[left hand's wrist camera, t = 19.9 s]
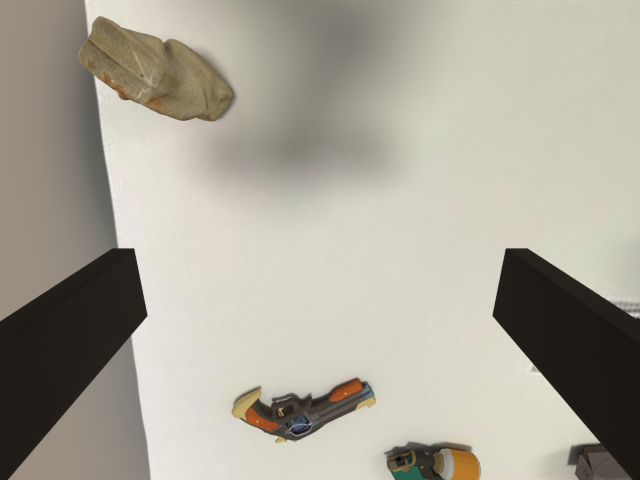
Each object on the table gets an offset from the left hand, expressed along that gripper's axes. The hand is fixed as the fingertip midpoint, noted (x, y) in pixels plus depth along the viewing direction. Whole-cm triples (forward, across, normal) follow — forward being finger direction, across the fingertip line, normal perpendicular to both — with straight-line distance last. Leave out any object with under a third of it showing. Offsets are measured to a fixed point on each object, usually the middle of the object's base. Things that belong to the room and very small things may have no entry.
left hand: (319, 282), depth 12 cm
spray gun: (+28, +18, -50) cm, 60 cm away
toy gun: (+28, -2, -33) cm, 44 cm away
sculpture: (+28, -12, +8) cm, 32 cm away
